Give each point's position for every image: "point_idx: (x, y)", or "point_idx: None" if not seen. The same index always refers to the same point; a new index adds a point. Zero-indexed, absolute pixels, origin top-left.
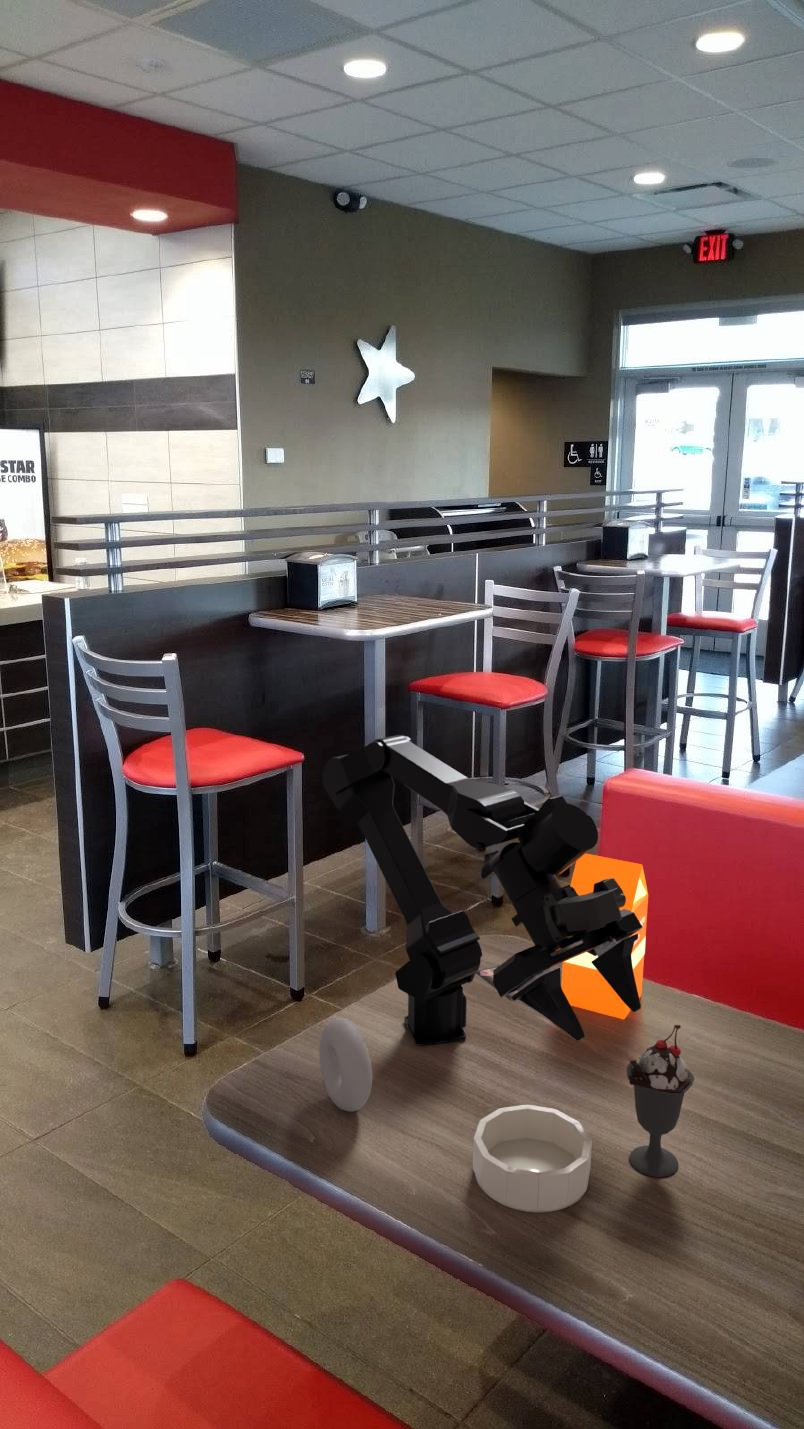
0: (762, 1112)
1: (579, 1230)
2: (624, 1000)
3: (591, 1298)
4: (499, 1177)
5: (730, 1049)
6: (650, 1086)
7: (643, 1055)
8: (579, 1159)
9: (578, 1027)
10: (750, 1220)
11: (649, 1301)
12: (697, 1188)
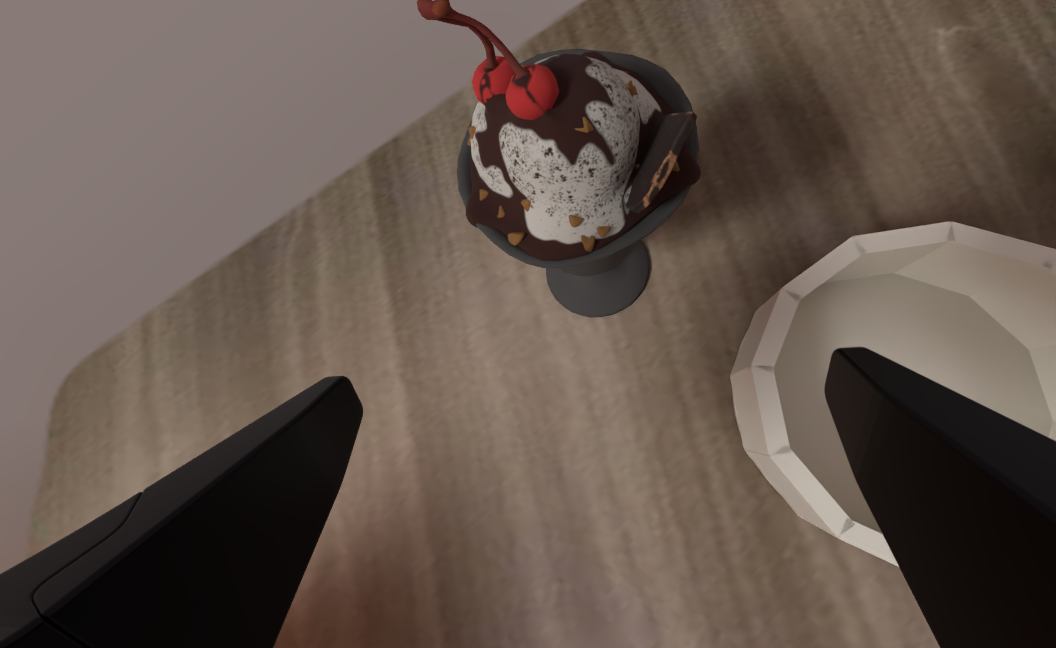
0: (305, 256)
1: (909, 200)
2: (336, 475)
3: (1027, 54)
4: None
5: (157, 433)
6: (665, 109)
7: (614, 145)
8: (878, 247)
9: (902, 375)
10: None
11: (917, 8)
12: None
